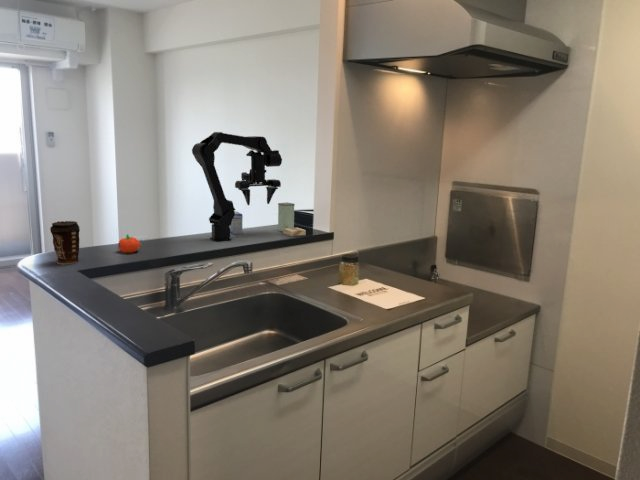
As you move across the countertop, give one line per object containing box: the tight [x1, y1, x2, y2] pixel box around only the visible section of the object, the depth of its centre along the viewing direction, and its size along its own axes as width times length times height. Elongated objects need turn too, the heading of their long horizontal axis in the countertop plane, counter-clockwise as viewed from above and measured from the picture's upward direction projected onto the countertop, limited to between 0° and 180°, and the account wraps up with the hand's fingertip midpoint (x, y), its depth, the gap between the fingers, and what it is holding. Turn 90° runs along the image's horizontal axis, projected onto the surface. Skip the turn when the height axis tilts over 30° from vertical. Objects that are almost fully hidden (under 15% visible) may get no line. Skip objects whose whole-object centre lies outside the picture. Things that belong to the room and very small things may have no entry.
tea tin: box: [277, 202, 295, 232], centre depth 233 cm, size 5×5×12 cm
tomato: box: [117, 234, 141, 254], centre depth 185 cm, size 7×8×6 cm
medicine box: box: [229, 210, 244, 235], centre depth 226 cm, size 8×4×9 cm, turn 25°
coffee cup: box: [49, 220, 81, 266], centre depth 168 cm, size 9×8×13 cm
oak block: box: [282, 227, 306, 237], centre depth 226 cm, size 7×7×2 cm
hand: (258, 204), depth 220 cm, fingers open, 9 cm apart
